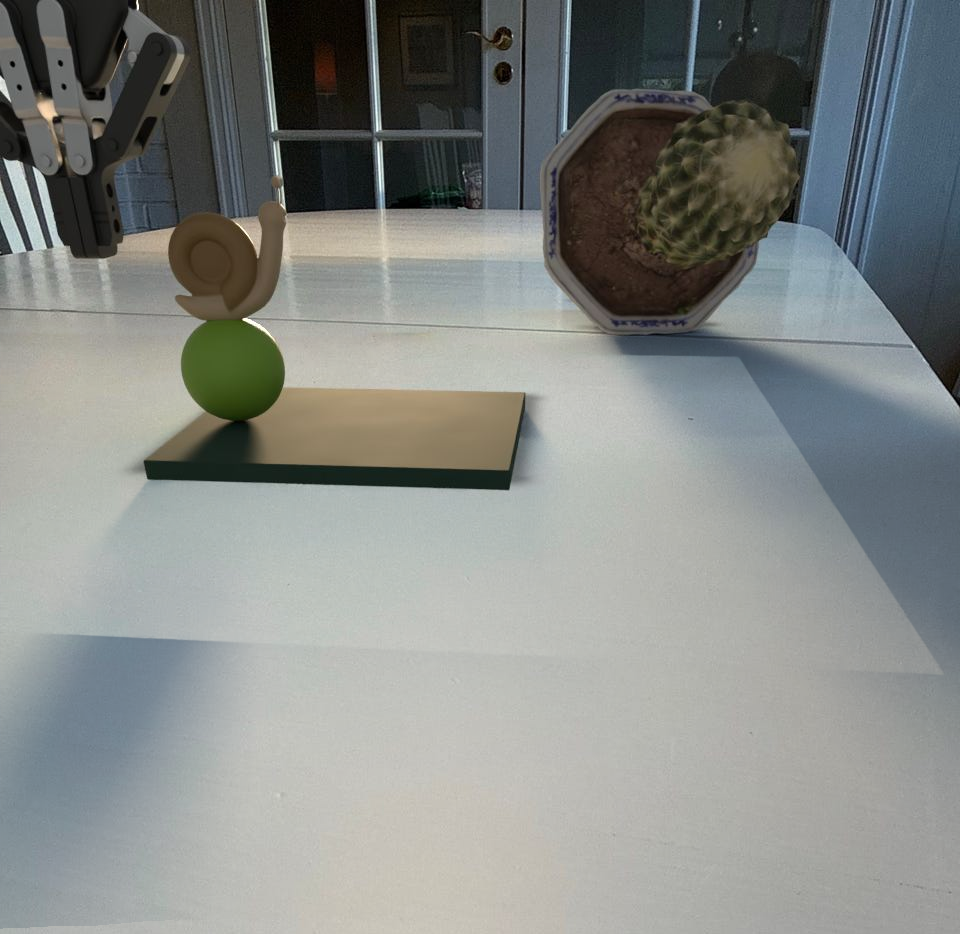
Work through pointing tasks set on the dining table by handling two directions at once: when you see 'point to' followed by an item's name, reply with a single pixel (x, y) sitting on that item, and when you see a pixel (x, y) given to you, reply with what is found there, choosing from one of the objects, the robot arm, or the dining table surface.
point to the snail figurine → (230, 310)
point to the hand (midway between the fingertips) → (95, 256)
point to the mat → (355, 441)
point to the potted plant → (662, 206)
